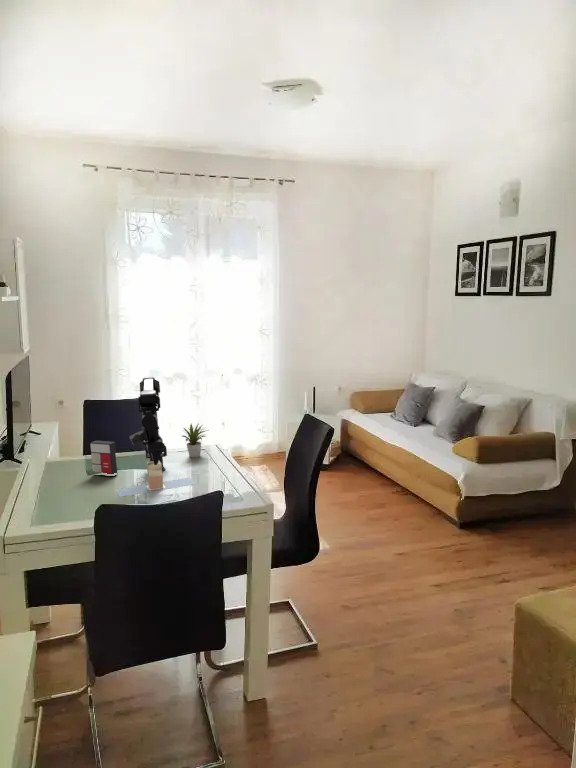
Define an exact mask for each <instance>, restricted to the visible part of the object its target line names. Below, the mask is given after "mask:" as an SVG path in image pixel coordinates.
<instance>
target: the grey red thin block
mask: <svg viewBox="0 0 576 768" xmlns="http://www.w3.org/2000/svg"><path fill="white" fill-rule="evenodd" d="M89 445H90V455H91V464H92V465H91V466H92V472H93V471H95V472H103V473H107V474H114V473H117V474H118V467H117V466H118V465H117V464H118V463H117V455H116V454H117V453H116V452H117V447H116V442H115V441H107V440H94V441H91V442H89Z"/></svg>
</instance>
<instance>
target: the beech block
mask: <svg viewBox="0 0 576 768" xmlns="http://www.w3.org/2000/svg"><path fill="white" fill-rule="evenodd" d="M146 469H147V476H148V475H149V477H156V476H162V477H163V471H162V465H161V462H160V461H158V464H157V465H154V462H153V461H151V462H150V461H147V462H146Z"/></svg>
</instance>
